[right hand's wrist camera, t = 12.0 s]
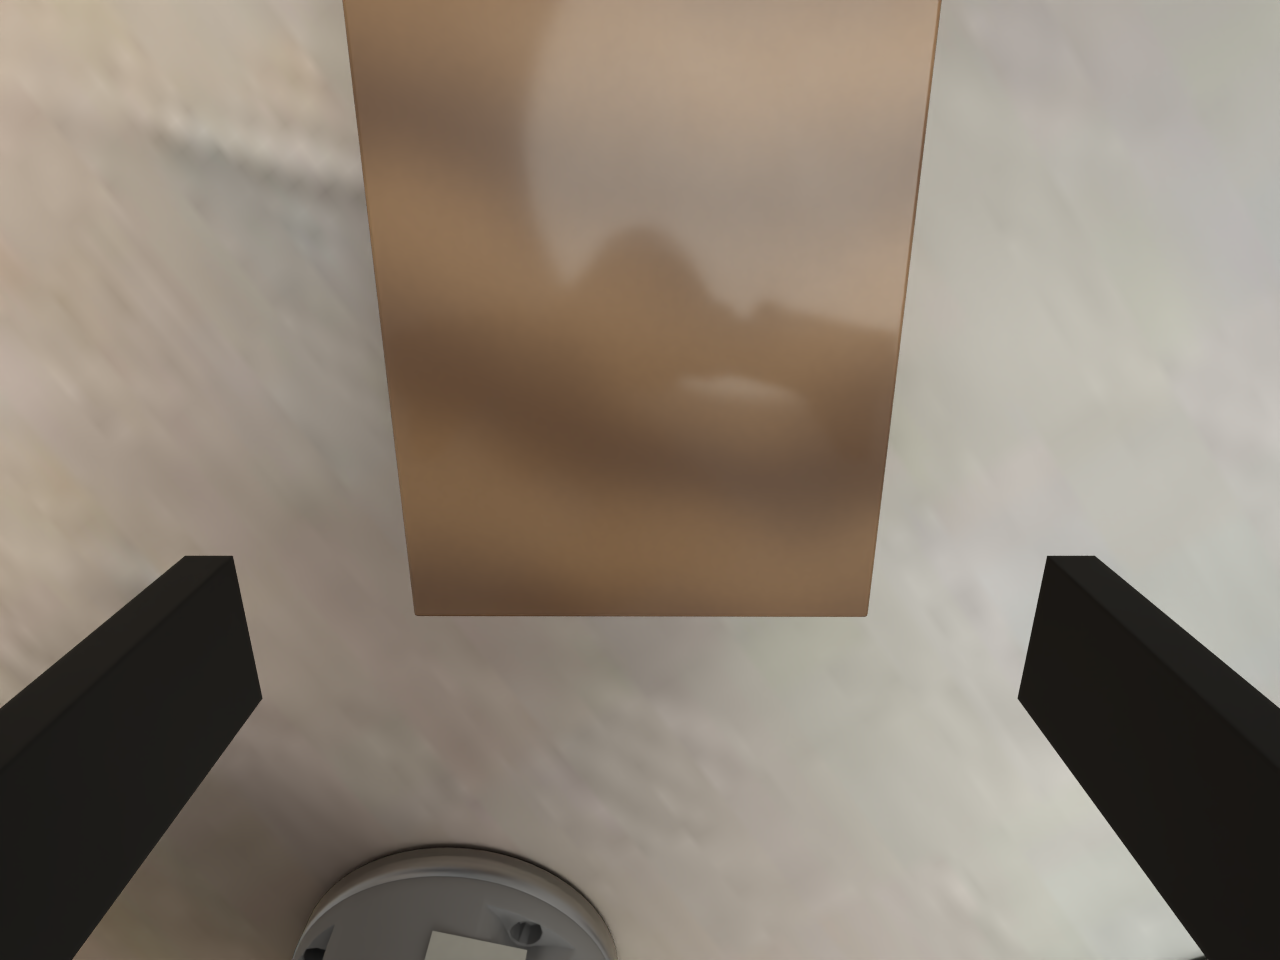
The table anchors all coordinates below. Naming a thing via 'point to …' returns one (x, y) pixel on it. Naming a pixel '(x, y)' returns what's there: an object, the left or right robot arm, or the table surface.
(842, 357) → the cabinet
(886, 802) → the table surface
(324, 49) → the table surface
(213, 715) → the right robot arm
